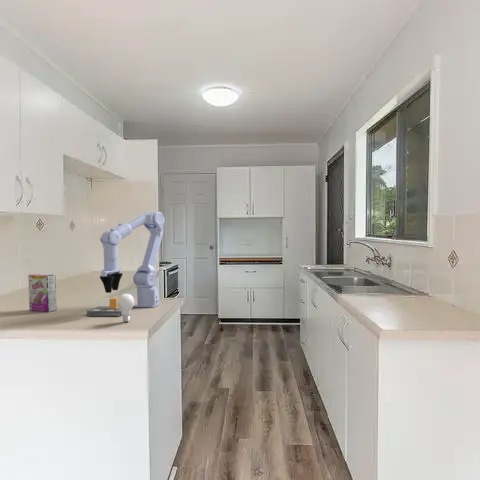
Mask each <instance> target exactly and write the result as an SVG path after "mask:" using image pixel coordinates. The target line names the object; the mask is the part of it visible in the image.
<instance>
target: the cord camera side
mask: <svg viewBox="0 0 480 480" xmlns="http://www.w3.org/2000/svg"><path fill="white" fill-rule="evenodd" d="M90 317H100V318H101V317H105V318H106V317H108V318H109V317H110V318H111V317H112V318H113V317H114V318H118V317H119V318H120V317H121V316H120V314H93V313H91V314H90Z"/></svg>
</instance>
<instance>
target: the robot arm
mask: <svg viewBox="0 0 480 480" xmlns="http://www.w3.org/2000/svg"><path fill="white" fill-rule="evenodd" d="M165 220H166V219H165V217H164V215H163V213H162V212H161V211H156V212H155V211H154V212H146V211H145V212H143V213H142V214H141V213H140V214H139V215H138V216H137V217H136V218H134V219H132V220H131V221H130V222H128V223H126V222H119V223H118V225H117V226H115V227H111V228H110V230H109V231H107V230H106V231H103V233H102V234H101V237H100V238H99V240H100V243H102V248H103V269H101V272H100V273H101V274H100V276H99V279H100V280H101V282H102V284H103V287H104V291H105V293H106V294H108V293H109V294H111V293H112V291H119V286H120V281H121V279H122V276H123V273H122V271H121V269H122V268H121V267H119V252H118V251H119V249H118V248H119V247H118V245H119V244H120V242H121V240H123V239H124V238H126V237H128V236H129V235H131V233H132V231H133V230H134V229H137V228H138V227H140V226H142V225H143V226H144V228H146V230H147V231H149V233H150V235H149V240H148V242H147V246H146V250H145V253H144V257H143V260H142V263H141V264H142V265H140V266H138V267H137V270H136V271H135V272H134V275H133V278H132V280H133V281H132V282H133V284H134V285H135V287H136V295H137V296H136V298H137V302H136V303H137V304H136V305H135V304H134V306H133V307H134V308H156V307H157V306H158V305H160V298H159V297H160V296H159V295H160V294H159V292H160V291H159V288H158V286H155V284H156V283H157V273H158V272H157V270H156V269H155V264H156V260H157V258H158V255H159V254H158V253H159V249H160V246H161V242H162V238H163V235H164V224H165V222H166V221H165Z"/></svg>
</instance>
